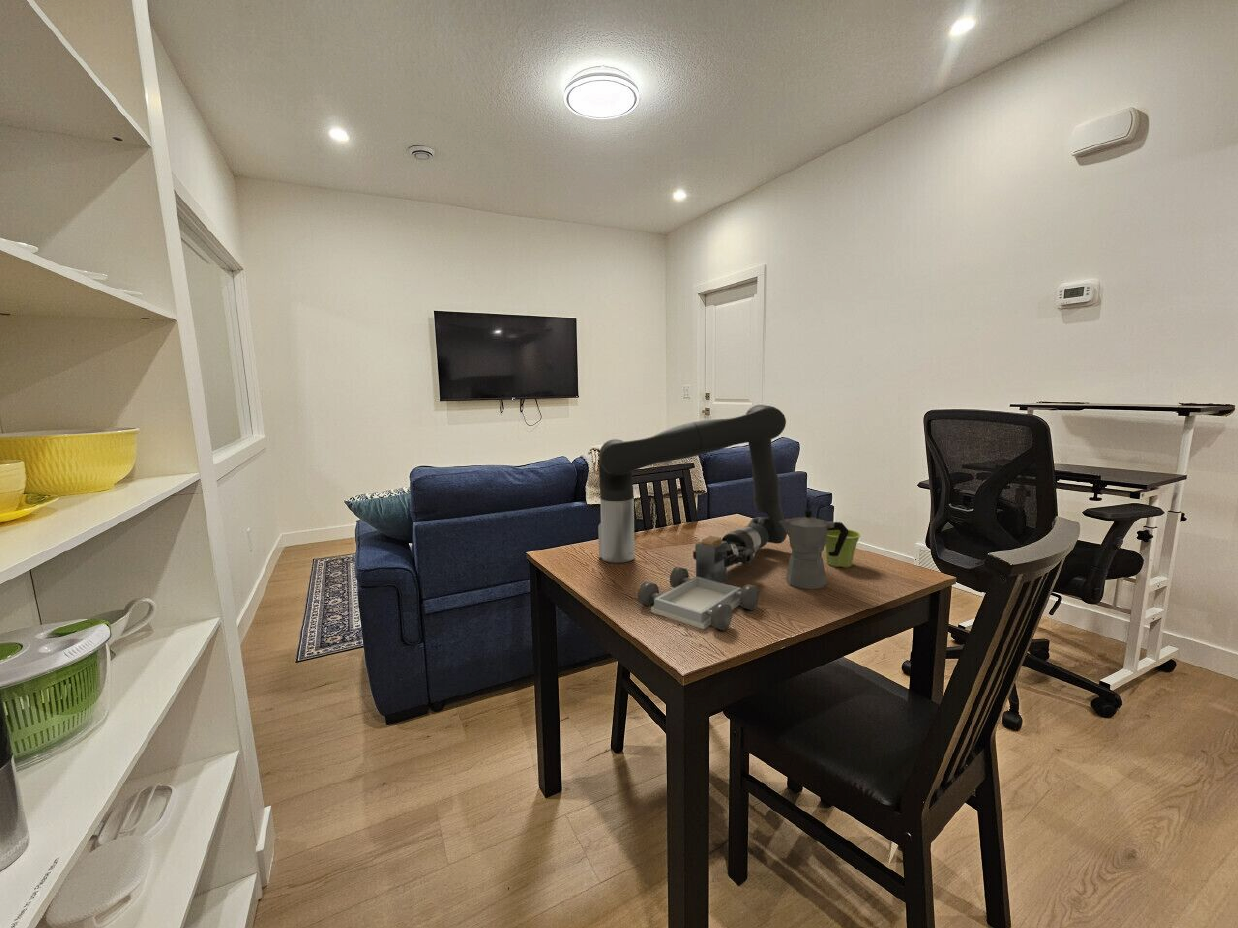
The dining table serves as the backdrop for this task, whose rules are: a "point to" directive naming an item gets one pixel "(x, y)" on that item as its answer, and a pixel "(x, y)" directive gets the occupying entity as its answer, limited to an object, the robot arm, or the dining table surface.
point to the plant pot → (846, 550)
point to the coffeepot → (810, 549)
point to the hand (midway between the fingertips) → (709, 559)
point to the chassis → (698, 600)
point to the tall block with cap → (711, 559)
